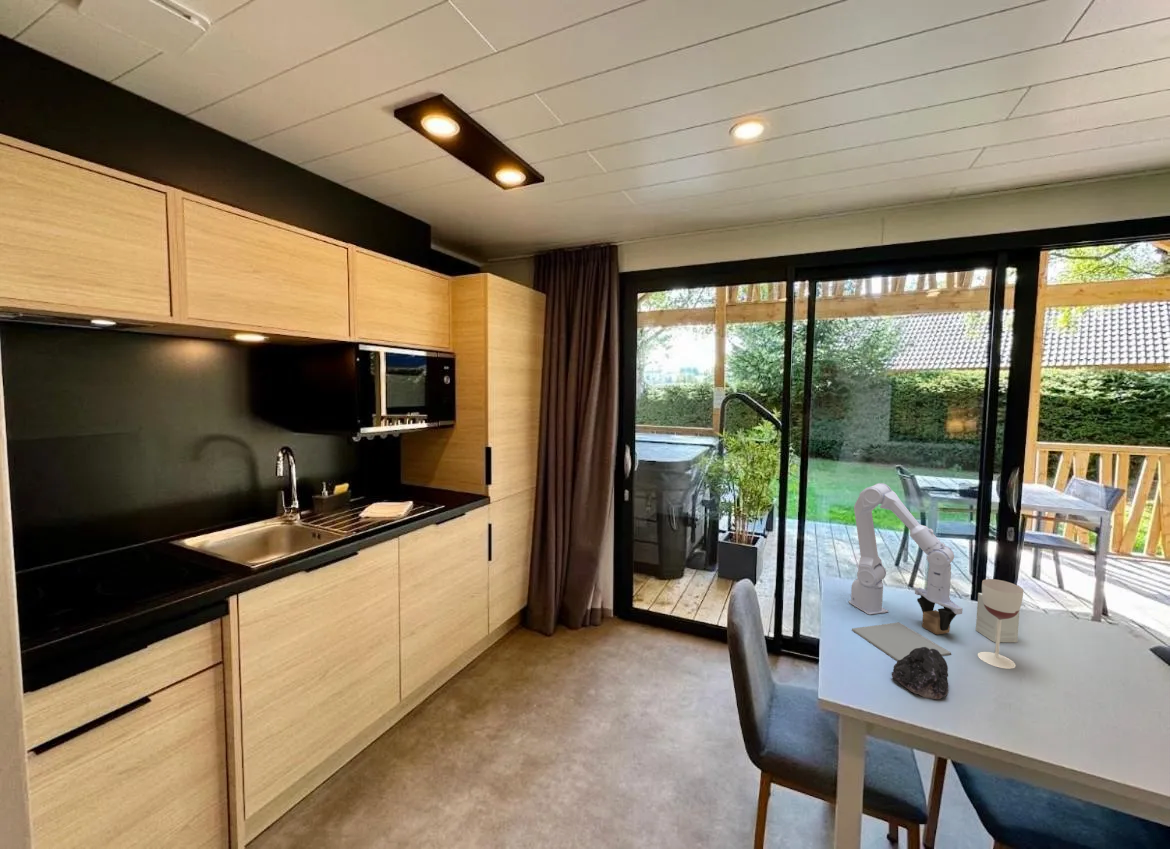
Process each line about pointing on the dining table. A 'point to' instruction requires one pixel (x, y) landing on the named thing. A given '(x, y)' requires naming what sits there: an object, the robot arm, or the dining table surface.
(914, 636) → the grey mat
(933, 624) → the walnut cube
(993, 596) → the wineglass
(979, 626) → the supplement box
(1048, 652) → the dining table surface
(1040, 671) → the dining table surface
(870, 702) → the dining table surface
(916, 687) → the dark grey rock
